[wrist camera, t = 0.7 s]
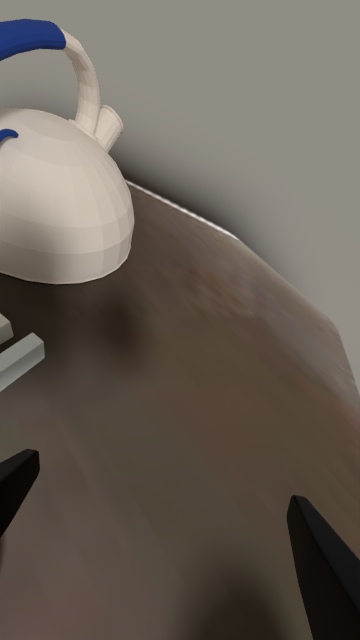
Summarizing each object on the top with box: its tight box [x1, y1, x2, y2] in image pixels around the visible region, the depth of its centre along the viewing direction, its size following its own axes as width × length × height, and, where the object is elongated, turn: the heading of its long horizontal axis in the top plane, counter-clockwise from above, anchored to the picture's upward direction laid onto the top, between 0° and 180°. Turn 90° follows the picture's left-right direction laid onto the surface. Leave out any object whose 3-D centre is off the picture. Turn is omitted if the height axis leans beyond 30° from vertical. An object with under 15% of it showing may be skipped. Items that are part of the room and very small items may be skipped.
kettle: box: [0, 19, 134, 284], centre depth 25 cm, size 20×21×18 cm
